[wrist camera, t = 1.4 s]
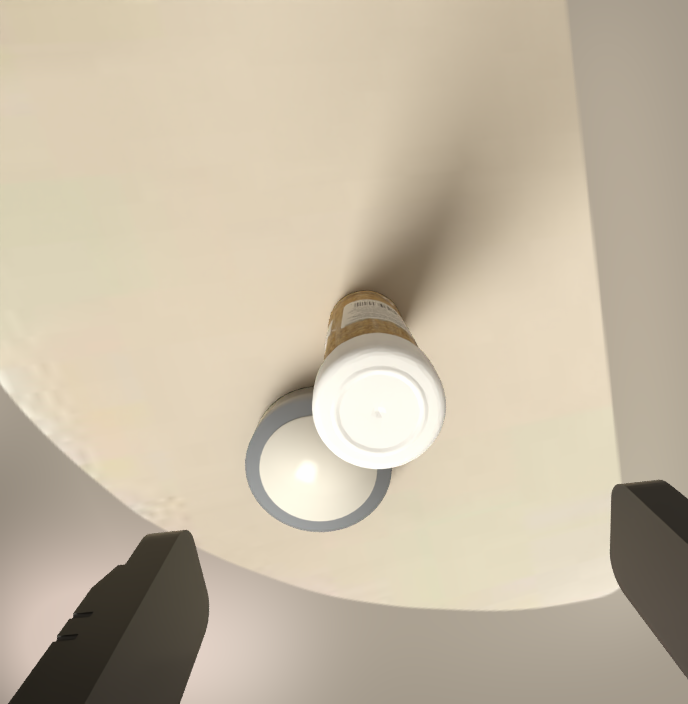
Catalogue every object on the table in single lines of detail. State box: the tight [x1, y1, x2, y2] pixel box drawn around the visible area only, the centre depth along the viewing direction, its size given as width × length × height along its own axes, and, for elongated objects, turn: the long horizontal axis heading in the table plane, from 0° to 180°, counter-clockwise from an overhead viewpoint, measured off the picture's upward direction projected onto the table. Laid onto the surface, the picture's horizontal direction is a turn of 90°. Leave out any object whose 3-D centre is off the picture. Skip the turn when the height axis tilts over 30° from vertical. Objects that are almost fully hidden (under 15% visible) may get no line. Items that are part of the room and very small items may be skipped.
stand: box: [245, 387, 392, 532], centre depth 29 cm, size 9×9×3 cm
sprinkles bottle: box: [312, 291, 446, 469], centre depth 21 cm, size 5×5×14 cm
